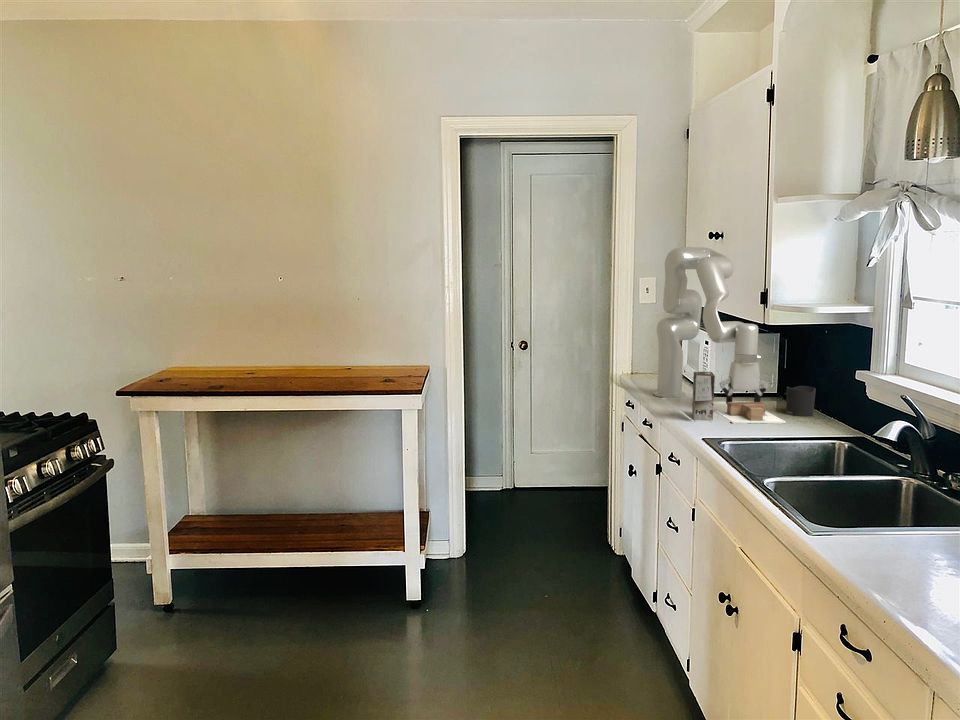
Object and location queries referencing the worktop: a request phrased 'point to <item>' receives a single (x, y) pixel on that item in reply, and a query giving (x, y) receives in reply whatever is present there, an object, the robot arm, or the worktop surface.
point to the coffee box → (703, 396)
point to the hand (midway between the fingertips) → (743, 406)
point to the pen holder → (800, 401)
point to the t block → (747, 410)
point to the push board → (722, 409)
